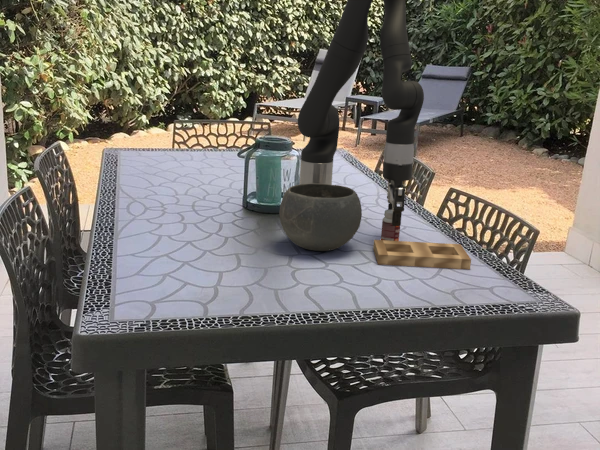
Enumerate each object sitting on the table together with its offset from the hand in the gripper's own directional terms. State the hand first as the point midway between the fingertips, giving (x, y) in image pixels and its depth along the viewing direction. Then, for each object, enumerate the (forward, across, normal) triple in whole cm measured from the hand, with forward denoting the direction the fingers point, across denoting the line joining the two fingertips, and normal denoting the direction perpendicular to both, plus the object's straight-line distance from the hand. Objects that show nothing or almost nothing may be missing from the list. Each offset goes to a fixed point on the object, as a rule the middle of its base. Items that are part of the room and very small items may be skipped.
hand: (393, 221), depth 182 cm
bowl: (+6, +8, -20) cm, 22 cm away
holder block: (+6, +13, +5) cm, 15 cm away
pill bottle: (+6, 0, -1) cm, 6 cm away
